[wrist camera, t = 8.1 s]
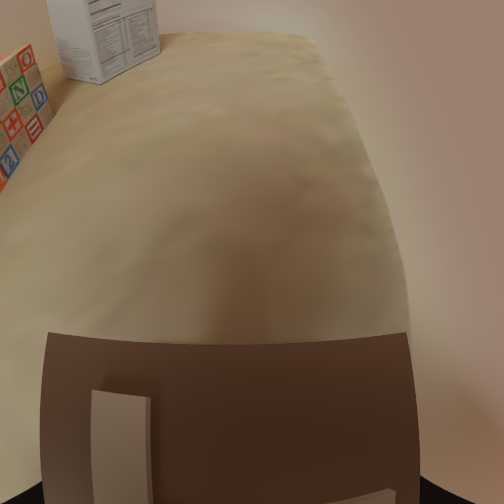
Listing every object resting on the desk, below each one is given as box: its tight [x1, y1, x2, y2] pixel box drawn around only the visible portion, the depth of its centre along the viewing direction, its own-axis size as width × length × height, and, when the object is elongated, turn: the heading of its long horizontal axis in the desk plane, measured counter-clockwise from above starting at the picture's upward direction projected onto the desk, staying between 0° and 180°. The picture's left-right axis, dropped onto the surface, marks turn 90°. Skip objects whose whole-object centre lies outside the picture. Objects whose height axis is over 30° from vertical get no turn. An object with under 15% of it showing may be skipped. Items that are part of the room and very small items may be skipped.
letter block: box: [40, 332, 420, 504], centre depth 7 cm, size 5×5×12 cm
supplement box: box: [46, 0, 161, 84], centre depth 31 cm, size 13×13×18 cm
